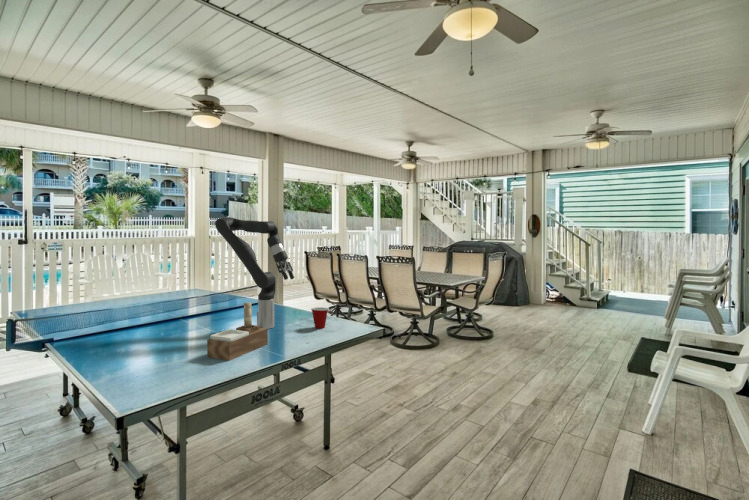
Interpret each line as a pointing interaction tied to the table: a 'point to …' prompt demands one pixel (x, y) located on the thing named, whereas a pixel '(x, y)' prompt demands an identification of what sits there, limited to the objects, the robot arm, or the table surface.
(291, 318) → the table surface
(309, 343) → the table surface
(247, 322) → the dowel
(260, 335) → the wooden block with recesses
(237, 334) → the tray
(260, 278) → the robot arm
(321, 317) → the plastic cup
